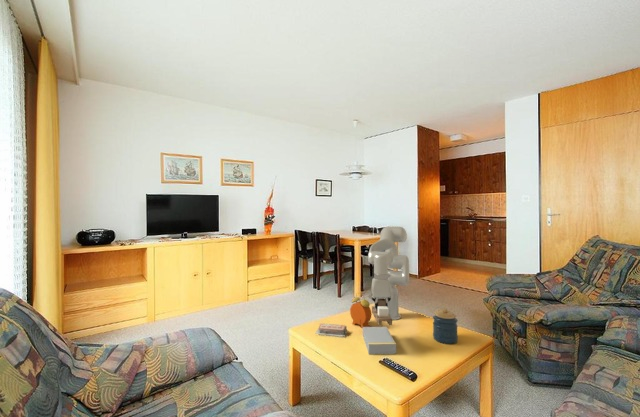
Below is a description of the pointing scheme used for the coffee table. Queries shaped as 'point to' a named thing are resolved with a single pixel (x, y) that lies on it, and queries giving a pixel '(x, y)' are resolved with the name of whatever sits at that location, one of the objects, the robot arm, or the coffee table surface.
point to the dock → (379, 340)
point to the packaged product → (332, 330)
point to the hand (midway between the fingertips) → (381, 309)
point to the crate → (383, 311)
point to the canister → (445, 327)
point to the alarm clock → (360, 312)
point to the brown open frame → (381, 318)
